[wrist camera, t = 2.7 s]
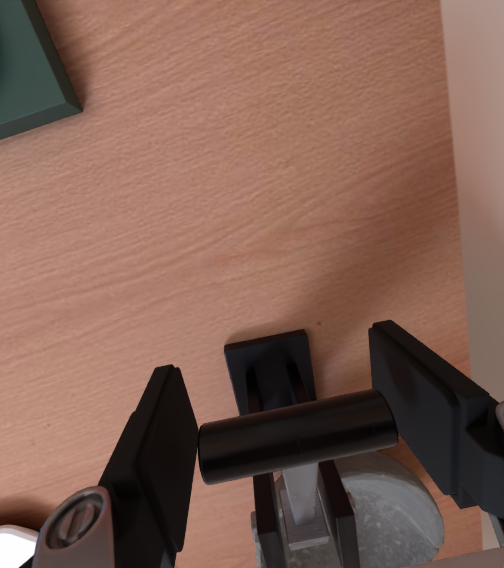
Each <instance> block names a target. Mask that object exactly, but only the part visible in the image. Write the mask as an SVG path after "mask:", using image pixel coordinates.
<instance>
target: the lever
mask: <svg viewBox="0 0 504 568" xmlns="http://www.w3.org/2000/svg"><path fill="white" fill-rule="evenodd" d="M398 439H399V437H398V429H397V425H396V421H395V418H394V415H393V413H392V410H391V408H390V406H389V404H388V402H387V401H386V399H385V398H384V396H383V395H382V394H381V393H380V392H379V391H378V390H376V389H369V390H364V391H359V392H354V393H349V394H344V395H340V396H335V397H330V398H325V399H320V400H315V401H311V402H306V403H301V404H296V405H291V406H286V407H282V408H277V409H272V410H267V411H262V412H257V413H253V414H248V415H243V416H238V417H233V418H228V419H224V420H219V421H214V422H209V423H204V424H203V425H201V427H200V429H199V434H198V460H199V467H200V472H201V475H202V478H203V481H204V483H205V484H207V485H213V484H218V483H222V482H227V481H232V480H237V479H242V478H246V477H251V476H256V475H261V474H266V473H270V472H275V471H280V470H282V474H283V478H284V482H285V486H286V489H283V490H279V495H280V500H281V506H282V512H283V518H284V523H285V529H286V535H287V540H288V545H289V547H290V549H291V550H297V549H302V548H306V547H311V546H316V545H321V544H325V543H327V542H328V540H329V537H330V535H329V532H328V528H327V524H326V520H325V516H324V513H323V509H322V505H321V501H320V497H319V493H318V490H317V477H318V462H323V461H328V460H333V459H337V458H342V457H347V456H352V455H357V454H361V453H366V452H371V451H376V450H380V449H385V448H390V447H394V446H396V445H397V444H398Z"/></svg>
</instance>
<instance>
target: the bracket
mask: <svg viewBox="0 0 504 568" xmlns="http://www.w3.org/2000/svg"><path fill="white" fill-rule="evenodd" d="M224 354H225V358H226V362H227V366H228V370H229V375H230V379H231V383H232V387H233V391H234V395H235V399H236V403H237V407H238V411H239V415H240V416H243V415H248V414H253V413H257V412H262V411H267V410H272V409H277V408H282V407H286V406H291V405H296V404H301V403H306V402H311V401H315V400H317V398H316V391H315V384H314V377H313V370H312V364H311V357H310V350H309V343H308V336H307V333H306V332H305V330H304V329H302V330H297V331H293V332H288V333H283V334H278V335H273V336H268V337H263V338H258V339H253V340H248V341H244V342H239V343H234V344H229V345H225V346H224ZM253 486H254V499H255V511H253V512H251V527H252V534H253V539H254V542H255V543H259V544H260V547H261V551H262V555H263V559H264V562H265V566H266V568H287V565H286V558H285V551H284V545H283V538H282V531H281V524H280V518H279V511H278V504H277V497H276V491H275V484H274V477H273V472H270V473H266V474H261V475H256V476H253ZM317 486H318V490H319V493H320V496H321V500H322V503H323V507H324V510H325V513H326V517H327V520H328V523H329V527H330V530H331V533H332V537H333V540H334V543H335V547H336V550H337V554H338V557H339V560H340V564H341V567H342V568H361V565H360V556H359V547H358V538H357V530H356V522H358V521H359V519H358V513H357V509H356V506H355V503H354V500H353V498H352V495H351V493H350V492H346V491H345V488H344V485H343V483H342V480H341V478H340V475H339V473H338V470H337V467H336V465H335V462H334V460H328V461H323V462H318V477H317Z"/></svg>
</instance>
